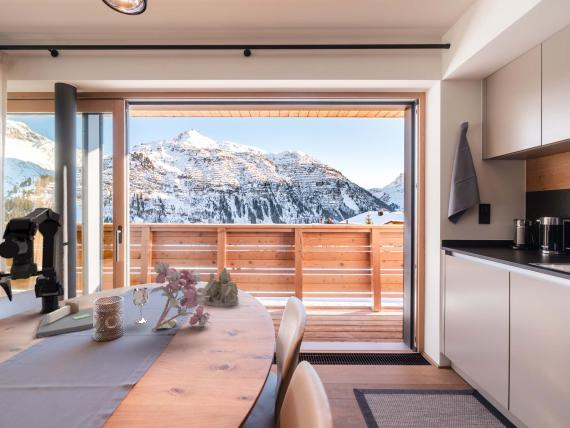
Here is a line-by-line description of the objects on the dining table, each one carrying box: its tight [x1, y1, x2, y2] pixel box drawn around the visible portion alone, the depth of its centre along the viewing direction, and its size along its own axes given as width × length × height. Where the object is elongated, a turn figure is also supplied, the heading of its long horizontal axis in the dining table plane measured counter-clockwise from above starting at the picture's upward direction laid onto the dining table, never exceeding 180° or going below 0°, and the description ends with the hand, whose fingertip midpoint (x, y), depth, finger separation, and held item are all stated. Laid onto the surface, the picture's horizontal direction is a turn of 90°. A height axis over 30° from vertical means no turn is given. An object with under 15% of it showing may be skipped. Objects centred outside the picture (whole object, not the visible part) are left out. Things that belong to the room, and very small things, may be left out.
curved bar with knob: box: [46, 300, 80, 323], centre depth 118 cm, size 15×4×4 cm, turn 2°
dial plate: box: [36, 307, 94, 338], centre depth 116 cm, size 22×16×2 cm
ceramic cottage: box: [202, 267, 240, 308], centre depth 141 cm, size 16×16×15 cm
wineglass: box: [131, 287, 150, 324], centre depth 117 cm, size 6×6×12 cm
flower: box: [149, 259, 212, 332], centre depth 110 cm, size 20×22×24 cm
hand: (24, 299), depth 108 cm, fingers open, 7 cm apart
